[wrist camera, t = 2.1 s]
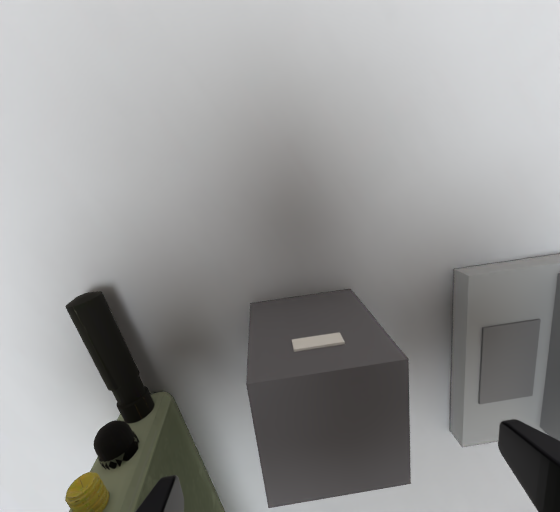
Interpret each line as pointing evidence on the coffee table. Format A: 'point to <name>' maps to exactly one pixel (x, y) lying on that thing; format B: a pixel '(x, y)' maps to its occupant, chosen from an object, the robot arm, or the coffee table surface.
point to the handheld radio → (133, 429)
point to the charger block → (326, 398)
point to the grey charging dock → (505, 348)
